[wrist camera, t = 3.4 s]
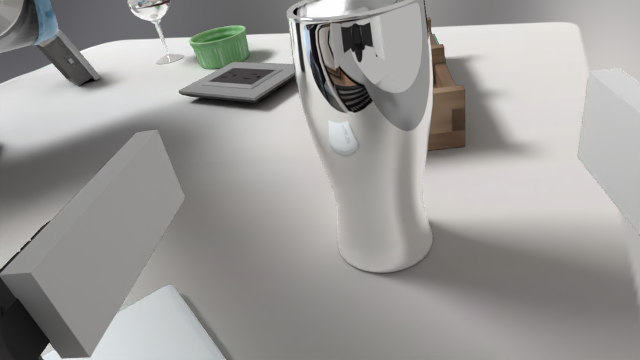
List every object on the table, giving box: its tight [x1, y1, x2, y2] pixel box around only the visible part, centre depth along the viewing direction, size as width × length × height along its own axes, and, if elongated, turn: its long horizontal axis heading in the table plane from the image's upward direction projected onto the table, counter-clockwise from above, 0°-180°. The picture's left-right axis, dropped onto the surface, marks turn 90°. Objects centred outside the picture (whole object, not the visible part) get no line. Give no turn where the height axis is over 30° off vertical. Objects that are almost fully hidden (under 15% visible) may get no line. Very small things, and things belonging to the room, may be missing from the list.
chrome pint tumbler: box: [286, 0, 433, 273], centre depth 25 cm, size 7×7×15 cm
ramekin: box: [189, 26, 249, 69], centre depth 71 cm, size 9×9×4 cm
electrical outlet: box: [179, 62, 296, 103], centre depth 58 cm, size 13×10×2 cm
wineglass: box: [127, 0, 184, 64], centre depth 76 cm, size 7×7×12 cm
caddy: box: [427, 18, 465, 150], centre depth 46 cm, size 12×23×5 cm, turn 175°
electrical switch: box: [36, 30, 100, 86], centre depth 75 cm, size 9×5×9 cm, turn 40°
